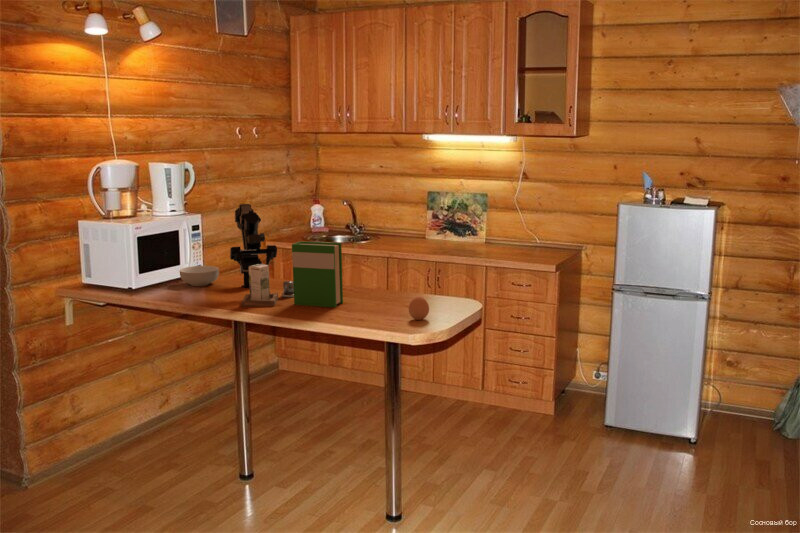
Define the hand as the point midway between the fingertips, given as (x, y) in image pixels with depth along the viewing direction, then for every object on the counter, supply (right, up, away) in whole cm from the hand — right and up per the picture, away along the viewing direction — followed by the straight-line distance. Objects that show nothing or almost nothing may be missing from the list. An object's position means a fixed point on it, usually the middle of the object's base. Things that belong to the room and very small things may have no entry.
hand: (255, 269), depth 315 cm
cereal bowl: (-30, -7, +31) cm, 44 cm away
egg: (+65, -18, -35) cm, 76 cm away
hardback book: (+26, -14, -9) cm, 31 cm away
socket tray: (+3, -13, -6) cm, 15 cm away
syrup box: (+3, -13, -6) cm, 14 cm away
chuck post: (+13, -11, +5) cm, 18 cm away
